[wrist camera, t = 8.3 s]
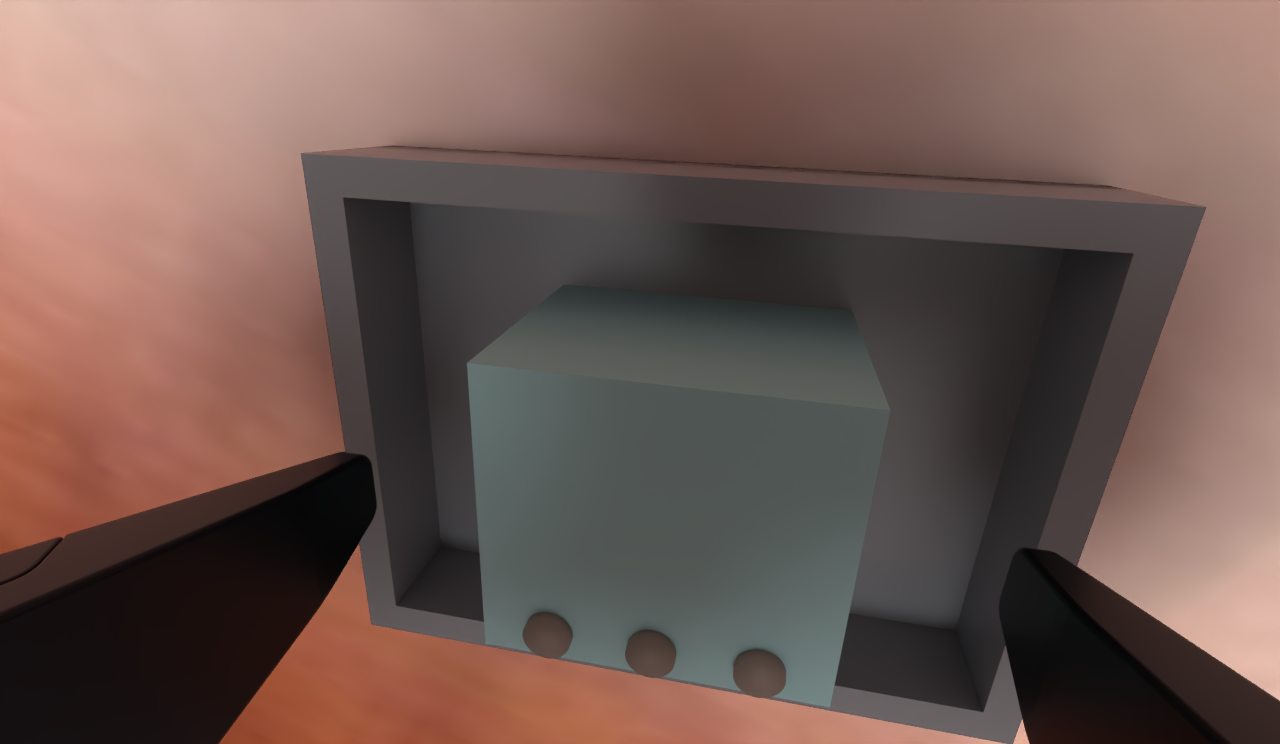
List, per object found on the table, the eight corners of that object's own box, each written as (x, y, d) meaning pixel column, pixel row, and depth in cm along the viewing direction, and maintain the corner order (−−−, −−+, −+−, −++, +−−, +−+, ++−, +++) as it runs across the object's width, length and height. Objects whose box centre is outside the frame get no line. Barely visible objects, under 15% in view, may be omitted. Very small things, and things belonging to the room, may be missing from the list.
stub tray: (431, 548, 15) (371, 624, 13) (392, 145, 12) (301, 152, 10) (972, 636, 13) (1011, 744, 11) (1107, 185, 10) (1205, 207, 8)
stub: (565, 498, 13) (481, 651, 10) (563, 284, 12) (461, 367, 8) (814, 534, 13) (830, 717, 9) (851, 310, 11) (892, 416, 7)
